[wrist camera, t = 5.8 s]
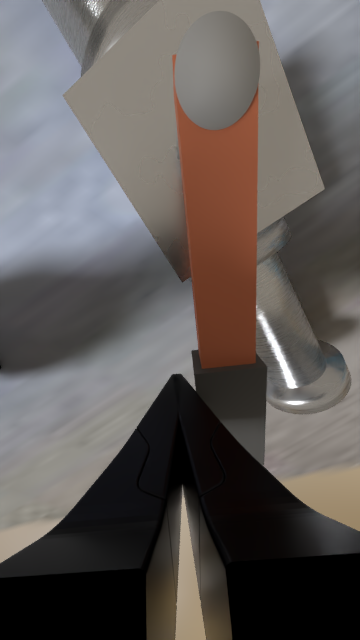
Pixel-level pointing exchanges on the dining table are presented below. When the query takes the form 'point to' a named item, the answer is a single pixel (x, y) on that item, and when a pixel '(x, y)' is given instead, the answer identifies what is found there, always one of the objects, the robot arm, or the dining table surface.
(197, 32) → the valve lever
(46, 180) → the dining table surface
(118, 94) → the valve manifold
